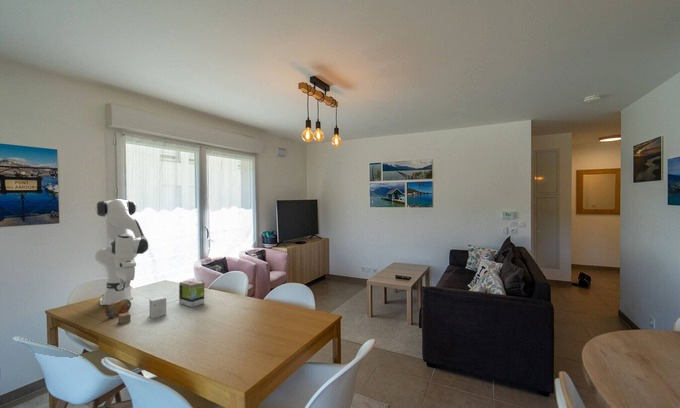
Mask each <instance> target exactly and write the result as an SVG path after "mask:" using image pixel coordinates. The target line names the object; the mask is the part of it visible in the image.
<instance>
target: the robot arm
mask: <svg viewBox="0 0 680 408" xmlns="http://www.w3.org/2000/svg"><path fill="white" fill-rule="evenodd" d="M94 210H95V213H96V214H97V216H99V217H106V222H105V223H106V224H105V225H106V238H107V239H108V240H109V241H112V242H111V243H110V245H111V246H108V247H103V248H100V249H98V250H97V251H96V252H95V255H94V256H95V257H94V258H95V260H96V261H97V263H98V264H101V265H102V266H103V267H104V269H105V270H106V274H107V275H106V277H107V278H106V279H107V282H106V285H105V286H106V288H105V290H103V291H104V292H102V293H100V297H101V298H99V304H100V306H106V305H107V306H108V305H109V304H112V303H115V302H117V301H120V300H124V299H128V300H129V301H130V300H133V299H134V296H133V295H132V290H131V285H130V284H131V281H134V279H135V275H136V274H135V273H136V266H137V263H136V260H135V258H137V256H138V255H142V254H144V253H146V252H147V251H148V249H149V242H148V239H147V238H146V237H145V234H144V232H143V230H142V228H141V225H140V223H139V222H138V220H137V219H136V218H135V217H133V216H132V215H134V214H135V213H136V211H137V204H136V202H135V201H134V200H129V199H127V200H125V199H120V198H115V199H113V200H101V201H98V202H97V203H96V204H95V207H94ZM128 230H129V231H131V232H133V235H134V237H133V235H132V234H130V233H127V231H128Z"/></svg>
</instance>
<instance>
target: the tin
mask: <svg viewBox="0 0 680 408" xmlns="http://www.w3.org/2000/svg"><path fill="white" fill-rule="evenodd" d="M131 306H132V301H130V300H128V299H124V300H120V301H117V302H115V303H112V304H109V305H107V306H106V308H105V310H104V315H105V317H107V318H112V319H113V318H114V319H115V318H117V317H119V314H123V313H127V312H128V313H129V311H130V310H131Z"/></svg>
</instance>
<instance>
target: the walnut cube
mask: <svg viewBox="0 0 680 408" xmlns="http://www.w3.org/2000/svg"><path fill="white" fill-rule="evenodd" d="M130 322H131V313H129V311H128V312H126V313H123V314H119V316H118V323H119V324H120V325H123V324H127V323H130Z"/></svg>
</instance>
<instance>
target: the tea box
mask: <svg viewBox="0 0 680 408" xmlns="http://www.w3.org/2000/svg"><path fill="white" fill-rule="evenodd" d="M178 286H179V288H178V292H179V293H178V294H179V295H178V296H179V297H178V302H179V304H181V305H184V306H188V307H190V308H193V307H197V306H200V305H203V304H205V282H204V281H201V280H196V279H190V280H183V281H180V282H179V285H178Z"/></svg>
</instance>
